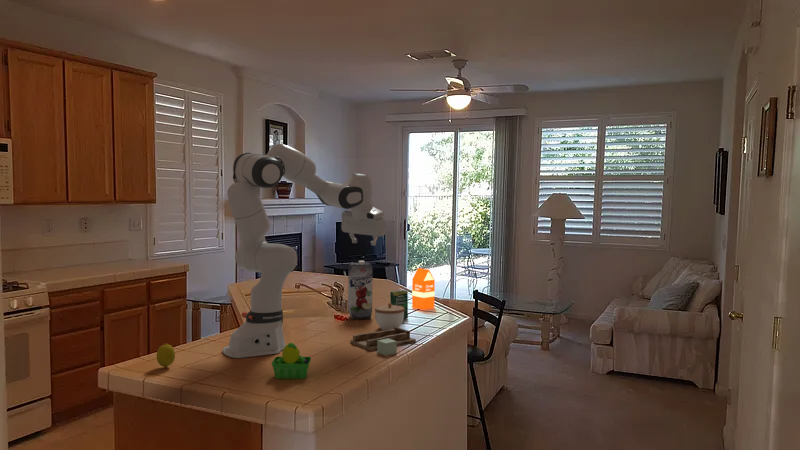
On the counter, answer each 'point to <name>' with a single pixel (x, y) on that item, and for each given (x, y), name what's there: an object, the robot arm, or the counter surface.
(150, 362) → the counter surface
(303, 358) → the fruit basket
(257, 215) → the robot arm
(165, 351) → the lemon
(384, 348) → the block
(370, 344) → the board
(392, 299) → the coffee box
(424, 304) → the orange juice
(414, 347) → the counter surface
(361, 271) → the juice carton
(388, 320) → the lidded bowl
